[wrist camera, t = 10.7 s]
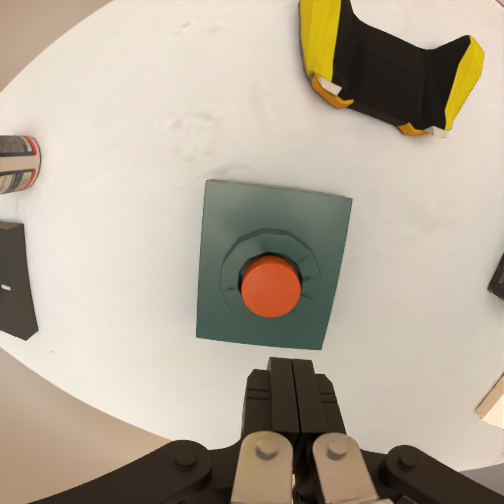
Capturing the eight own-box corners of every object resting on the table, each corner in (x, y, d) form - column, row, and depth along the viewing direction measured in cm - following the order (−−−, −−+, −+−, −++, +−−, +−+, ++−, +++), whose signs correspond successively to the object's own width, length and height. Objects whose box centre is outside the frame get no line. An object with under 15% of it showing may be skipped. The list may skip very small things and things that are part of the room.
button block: (317, 336, 25) (325, 363, 21) (200, 324, 25) (191, 350, 21) (344, 195, 22) (361, 201, 18) (211, 179, 22) (200, 181, 18)
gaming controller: (301, -6, 17) (274, 93, 20) (310, -43, 12) (279, 70, 14) (457, 59, 18) (445, 155, 20) (492, 44, 12) (485, 156, 15)
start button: (292, 308, 20) (295, 320, 19) (240, 302, 20) (238, 314, 19) (301, 258, 19) (305, 266, 18) (245, 251, 19) (244, 260, 18)
